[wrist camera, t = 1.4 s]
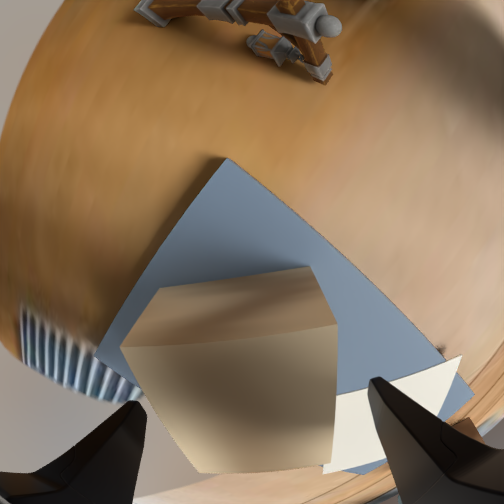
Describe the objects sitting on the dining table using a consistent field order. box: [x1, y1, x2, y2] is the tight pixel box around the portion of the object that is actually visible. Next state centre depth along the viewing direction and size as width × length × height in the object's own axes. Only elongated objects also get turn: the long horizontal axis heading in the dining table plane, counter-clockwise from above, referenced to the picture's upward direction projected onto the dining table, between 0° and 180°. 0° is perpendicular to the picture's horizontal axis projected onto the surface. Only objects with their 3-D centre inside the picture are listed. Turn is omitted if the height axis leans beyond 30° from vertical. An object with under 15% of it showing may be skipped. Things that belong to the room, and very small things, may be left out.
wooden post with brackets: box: [134, 0, 342, 85], centre depth 7 cm, size 2×8×4 cm, turn 59°
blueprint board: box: [94, 158, 475, 475], centre depth 13 cm, size 25×14×1 cm, turn 51°
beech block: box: [120, 266, 338, 474], centre depth 10 cm, size 6×8×4 cm
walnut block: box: [452, 417, 486, 445], centre depth 15 cm, size 5×6×5 cm
